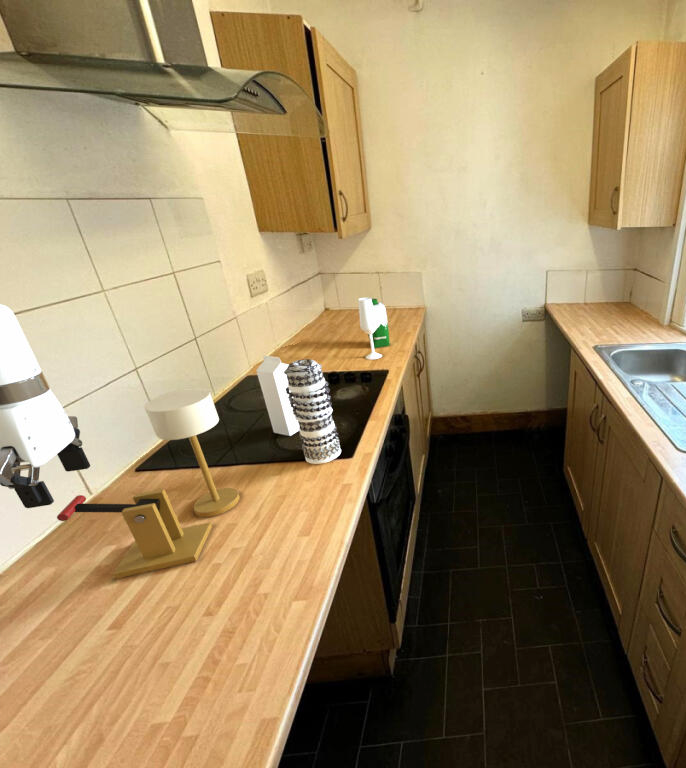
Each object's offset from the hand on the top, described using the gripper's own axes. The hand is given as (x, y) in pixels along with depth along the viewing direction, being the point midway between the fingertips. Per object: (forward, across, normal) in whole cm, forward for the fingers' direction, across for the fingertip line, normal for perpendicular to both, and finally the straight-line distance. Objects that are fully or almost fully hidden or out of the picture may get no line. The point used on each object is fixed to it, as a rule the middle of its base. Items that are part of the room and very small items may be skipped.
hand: (60, 486), depth 67 cm
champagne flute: (+16, -97, +49) cm, 110 cm away
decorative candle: (+17, -25, +35) cm, 46 cm away
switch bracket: (+17, 0, +10) cm, 20 cm away
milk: (+17, -42, +25) cm, 52 cm away
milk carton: (+16, -112, +52) cm, 124 cm away
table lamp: (+17, -12, +15) cm, 25 cm away
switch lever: (+7, 0, +5) cm, 8 cm away
